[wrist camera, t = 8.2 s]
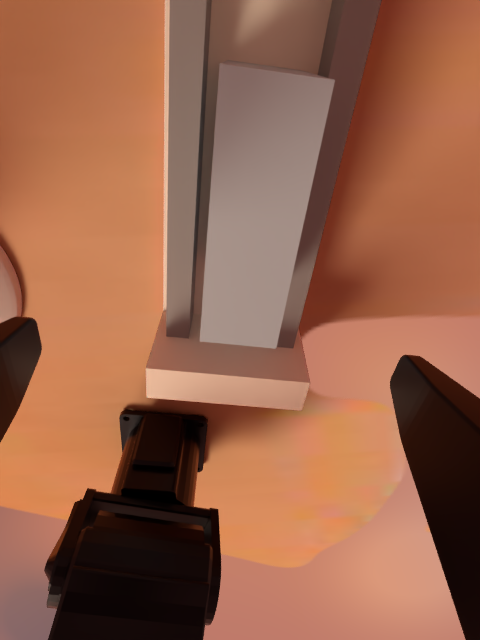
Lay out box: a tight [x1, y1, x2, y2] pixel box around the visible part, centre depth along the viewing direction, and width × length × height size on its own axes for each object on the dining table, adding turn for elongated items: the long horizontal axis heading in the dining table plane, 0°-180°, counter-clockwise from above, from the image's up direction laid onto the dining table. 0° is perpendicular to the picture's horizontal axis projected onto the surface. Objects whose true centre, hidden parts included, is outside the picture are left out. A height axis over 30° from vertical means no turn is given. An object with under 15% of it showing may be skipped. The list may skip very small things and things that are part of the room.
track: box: [146, 0, 382, 411], centre depth 16 cm, size 20×8×6 cm, turn 173°
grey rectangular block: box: [200, 60, 335, 349], centre depth 15 cm, size 9×3×7 cm, turn 173°
